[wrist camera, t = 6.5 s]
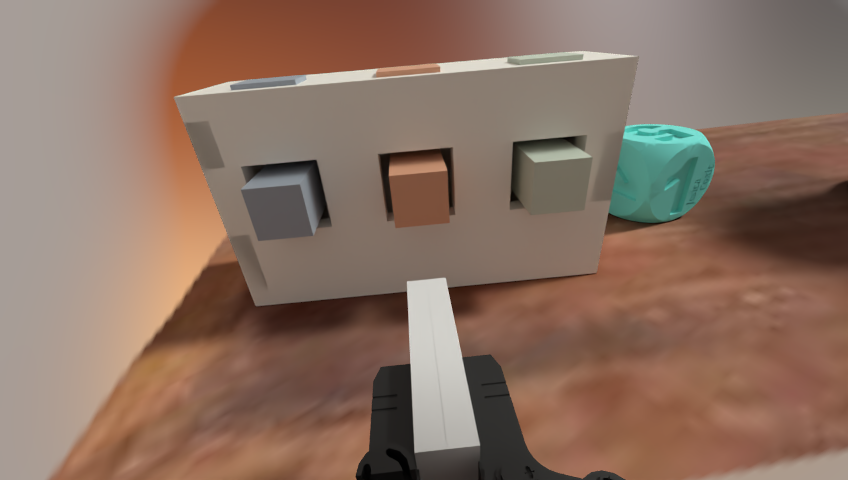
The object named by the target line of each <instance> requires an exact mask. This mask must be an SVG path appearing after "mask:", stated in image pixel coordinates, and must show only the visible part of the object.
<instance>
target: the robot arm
mask: <svg viewBox="0 0 848 480" xmlns="http://www.w3.org/2000/svg"><path fill="white" fill-rule="evenodd" d="M407 296H408V318H409V341H410V363H411V364H405V365H396V366H386V367H381V368H380V370H379V372H378V374H377V376H376V377H375V379H374V382H373V400H372V413H371V429H370V444H369V452H367V453H366V454H365V456H364V457H363V459H362V460H361V462H360V463H359V465H358V469H357V473H356V479H357V480H625V479H623V478H621V477H620V476H618V475H616V474H615V473H611V472H607V471H595V472H591V473H590V474H588V475H587V476H586V477H584V478H583V479H581V478H577V477H573V476H568V475H564V474H560V473H557V472H554V471H551V470H549V469H547V468H546V467H544V466H542V465H541V464H540V463H539V462H538V461H536V460H535V459H534V458H533V456H532V455H531V454H530V452H529V451H528V449H527V446H526V444H525V441H524V438H523V435H522V432H521V429H520V426H519V422H518V419H517V416H516V413H515V410H514V407H513V403H512V400H511V397H510V395H509V391H508V388H507V385H506V381H505V378H504V375H503V372H502V369H501V366H500V365H499V364H498V363H497V362H496V360H495V359H494V358H493V357H492V356H491V355H481V356H472V357H462V355H461V350H460V345H459V340H458V335H457V330H456V326H455V321H454V316H453V311H452V306H451V301H450V296H449V292H448V287H447V282H446V278H437V279H427V280H417V281H407Z"/></svg>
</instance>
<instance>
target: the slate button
mask: <svg viewBox="0 0 848 480" xmlns="http://www.w3.org/2000/svg"><path fill="white" fill-rule="evenodd" d="M241 193H242V195H243V198H244V201H245V204H246V207H247V210H248V213H249V216H250V218H251V221H252V224H253V227H254V230H255V233H256V236H257V239H258V241H265V240H275V239H286V238H296V237H307V236H314V233H315V231H316V228H317V226H318V224H319V221H320V219H321V217H322V214H323V212H324V210H325V207H326V201H325V196H324V192H323V187H322V183H321V179H320V174H319V170H318V165H317V161H316V160H307V161H296V162H285V163H275V164H266V165H265V166H264V167H263V168H262V169H261V170H260V171H259V172H258V173H257V174H256V175H255V176H254V177H253V178H252V179H251V180H250V181H249V182H248V183H247V184H246V185H245V186H244V187H243V188H242V189H241Z"/></svg>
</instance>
